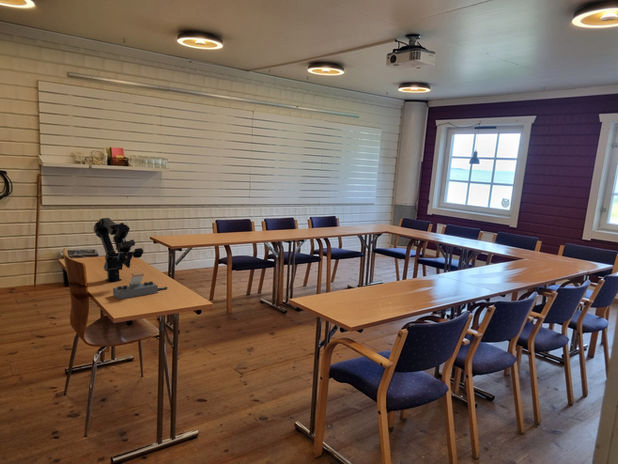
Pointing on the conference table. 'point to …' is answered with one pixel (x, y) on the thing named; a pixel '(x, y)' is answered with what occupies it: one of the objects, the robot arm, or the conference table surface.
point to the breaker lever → (136, 278)
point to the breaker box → (136, 290)
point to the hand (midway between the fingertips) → (129, 267)
